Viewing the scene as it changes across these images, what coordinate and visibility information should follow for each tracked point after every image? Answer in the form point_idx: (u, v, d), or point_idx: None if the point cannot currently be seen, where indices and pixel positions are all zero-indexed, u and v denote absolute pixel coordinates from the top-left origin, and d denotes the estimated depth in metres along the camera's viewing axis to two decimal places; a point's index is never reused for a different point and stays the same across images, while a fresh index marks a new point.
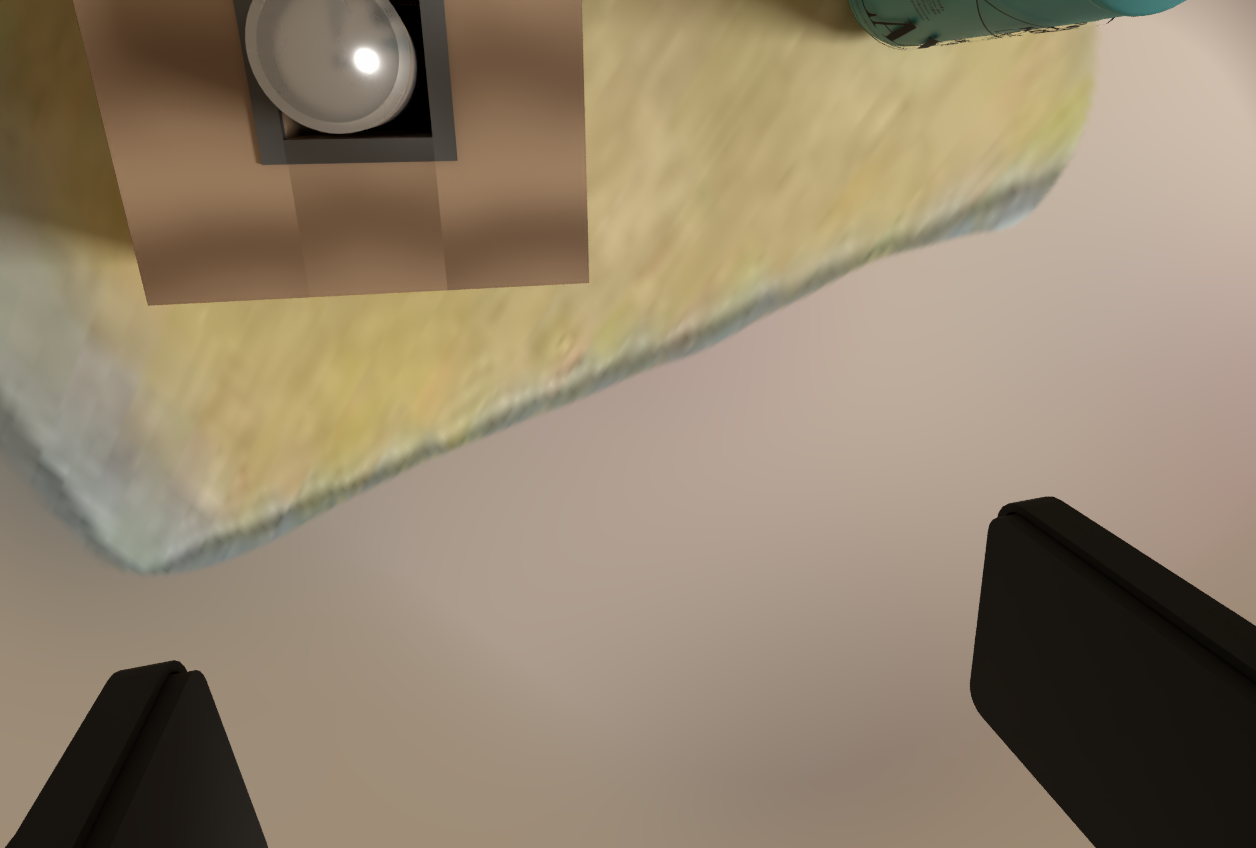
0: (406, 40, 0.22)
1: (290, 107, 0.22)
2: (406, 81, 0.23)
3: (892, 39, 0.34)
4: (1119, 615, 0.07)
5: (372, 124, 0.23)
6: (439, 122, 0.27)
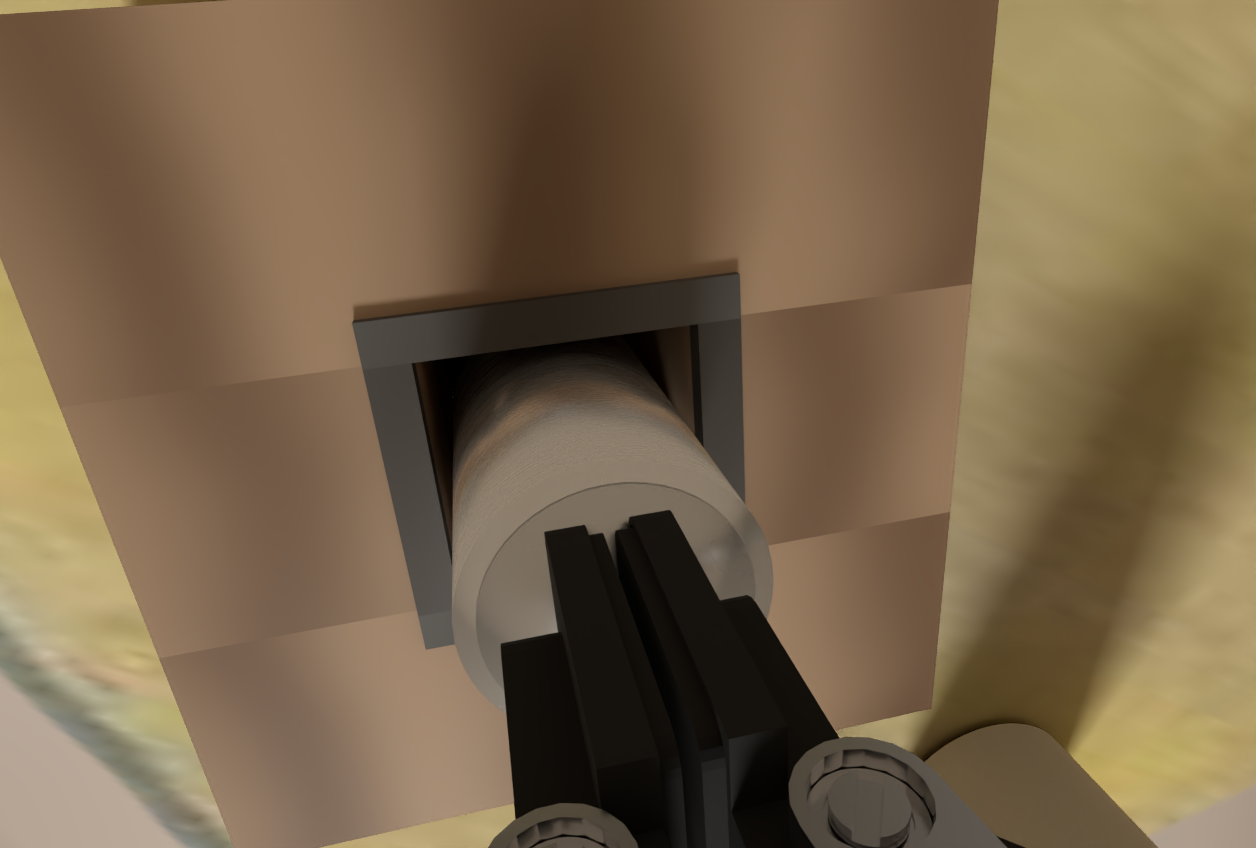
0: None
1: (495, 548, 0.10)
2: None
3: None
4: (651, 625, 0.08)
5: (483, 692, 0.11)
6: None
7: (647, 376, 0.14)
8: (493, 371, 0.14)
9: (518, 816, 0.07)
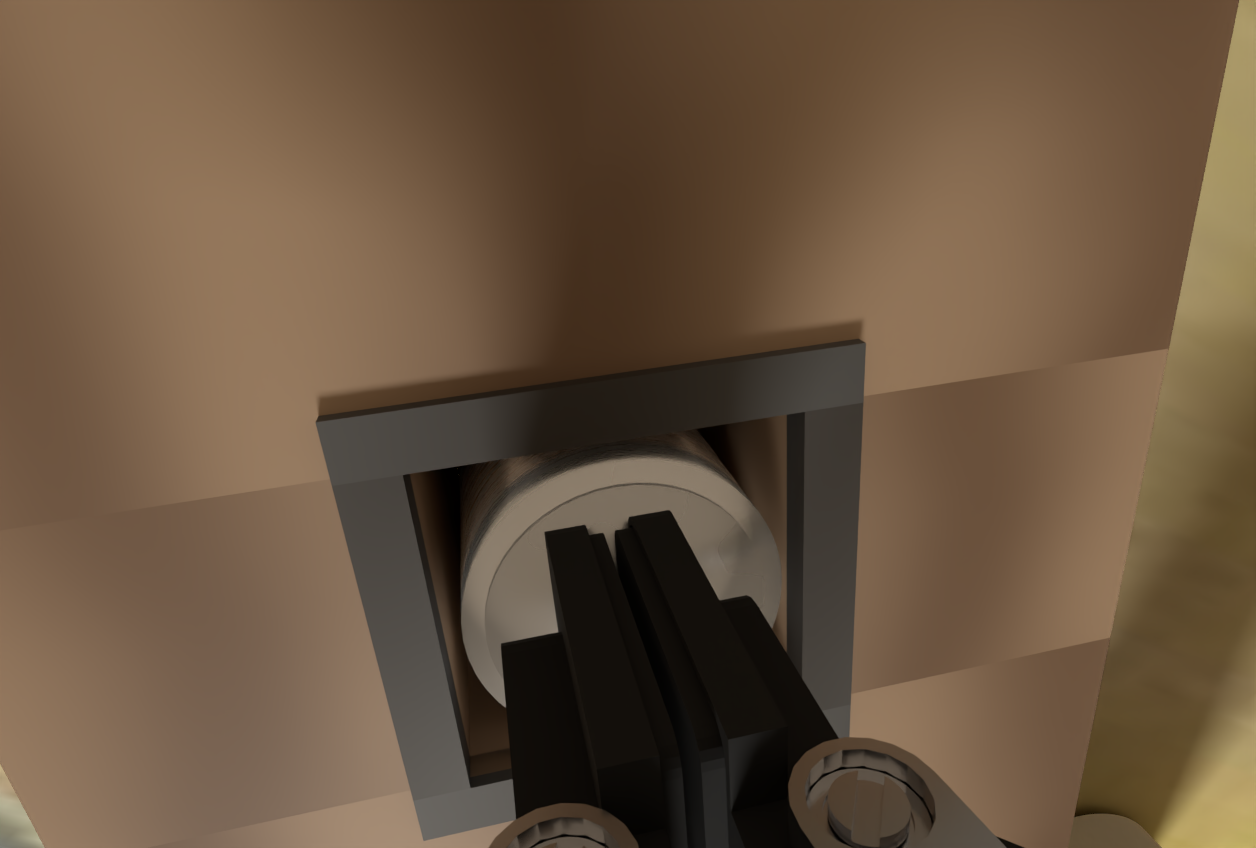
0: None
1: (505, 549, 0.10)
2: None
3: None
4: (651, 625, 0.08)
5: (492, 692, 0.11)
6: (508, 795, 0.11)
7: None
8: None
9: (519, 816, 0.07)
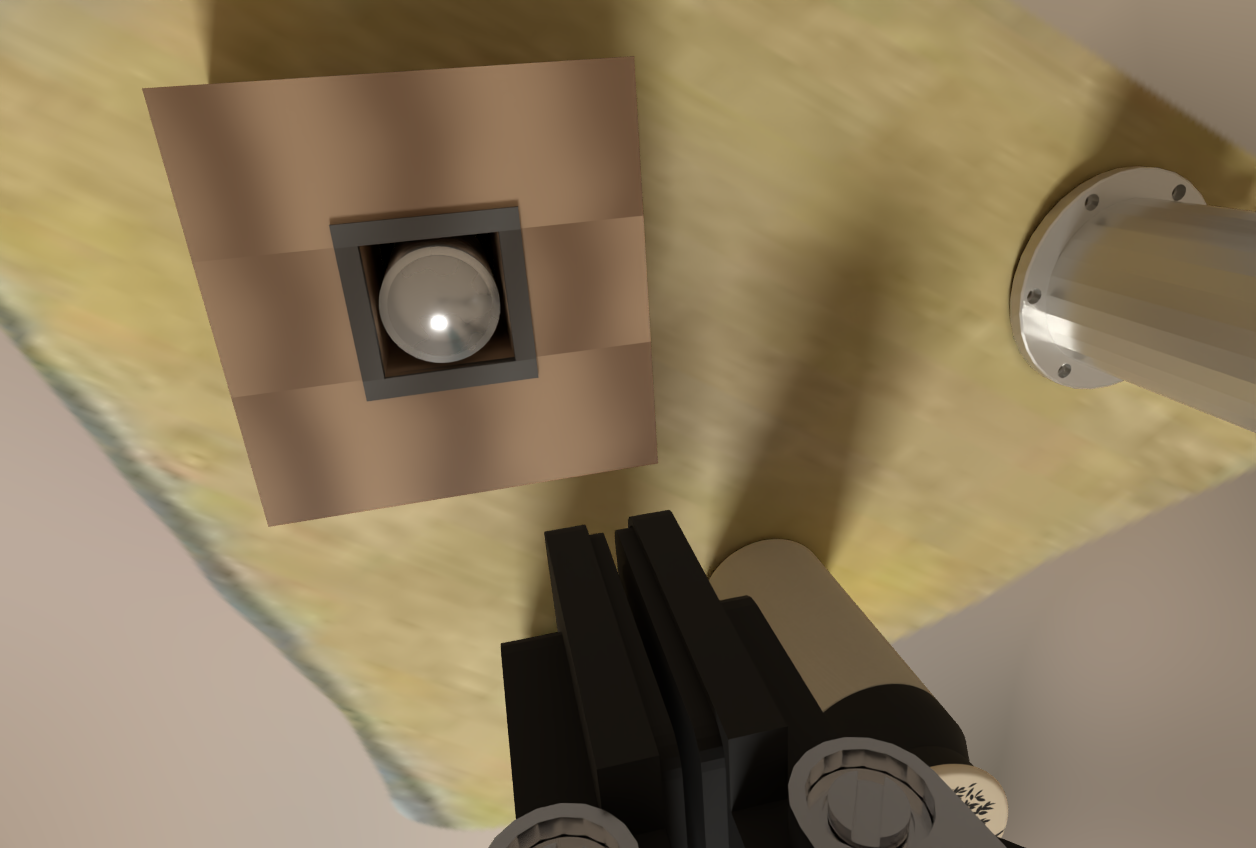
0: (457, 360, 0.30)
1: (393, 277, 0.28)
2: (428, 360, 0.30)
3: None
4: (651, 625, 0.08)
5: (391, 336, 0.29)
6: (399, 384, 0.30)
7: (472, 240, 0.33)
8: None
9: (518, 816, 0.07)
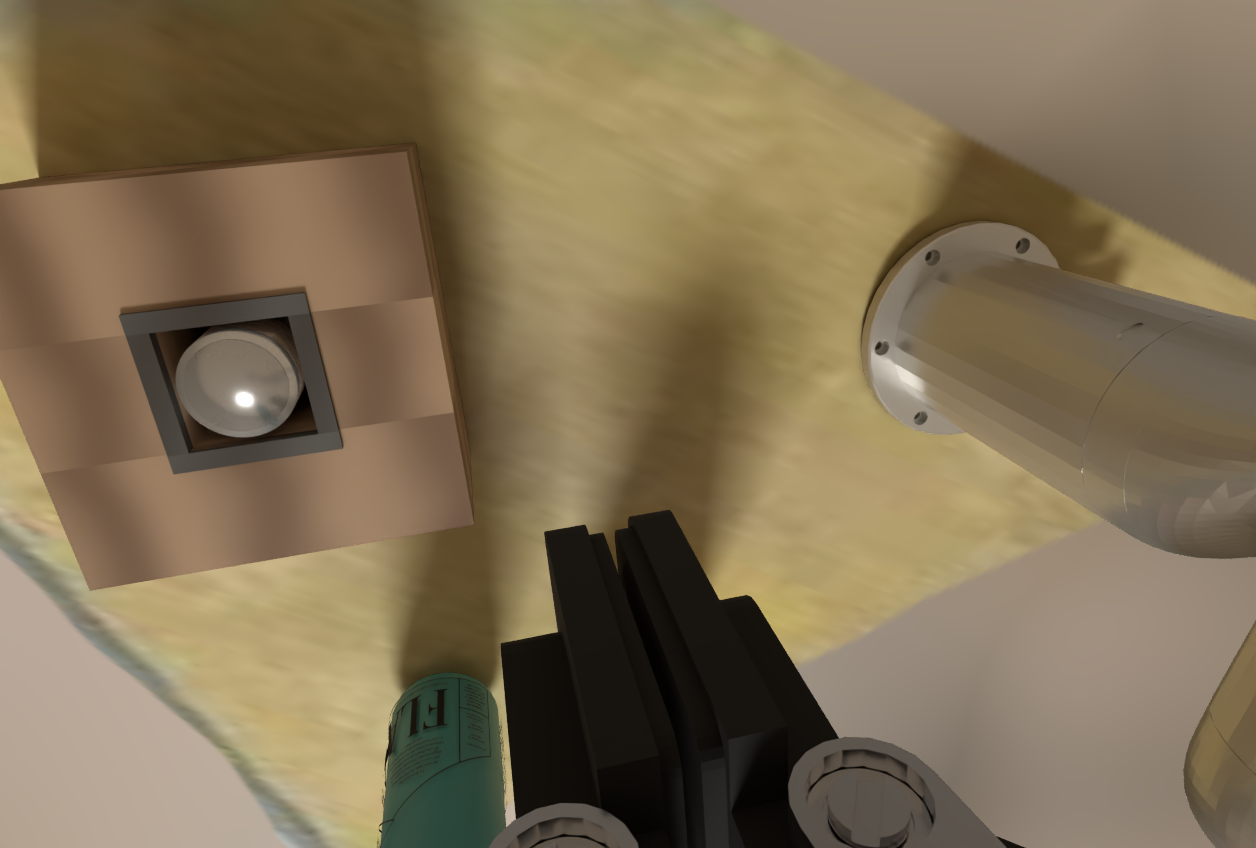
0: (259, 434, 0.31)
1: (187, 360, 0.30)
2: (230, 435, 0.31)
3: (389, 729, 0.44)
4: (651, 625, 0.08)
5: (191, 414, 0.31)
6: (204, 458, 0.31)
7: None
8: None
9: (519, 816, 0.07)
